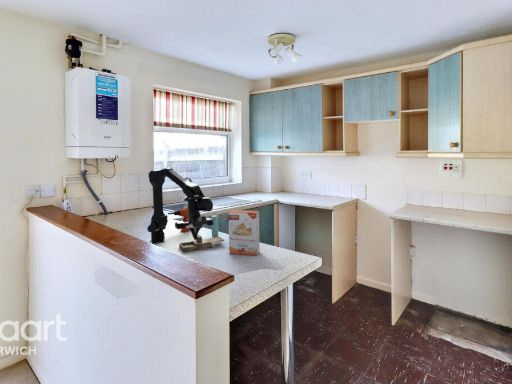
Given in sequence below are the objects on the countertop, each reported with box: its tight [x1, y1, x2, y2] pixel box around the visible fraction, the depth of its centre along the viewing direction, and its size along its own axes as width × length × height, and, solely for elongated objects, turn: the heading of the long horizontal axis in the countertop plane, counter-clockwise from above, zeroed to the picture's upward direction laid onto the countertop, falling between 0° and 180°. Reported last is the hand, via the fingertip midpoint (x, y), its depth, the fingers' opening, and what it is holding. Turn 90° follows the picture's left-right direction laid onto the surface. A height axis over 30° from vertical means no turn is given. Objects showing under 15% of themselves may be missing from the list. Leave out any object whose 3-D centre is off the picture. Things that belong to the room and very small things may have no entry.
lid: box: [192, 234, 225, 245], centre depth 170 cm, size 15×7×4 cm, turn 116°
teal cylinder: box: [210, 215, 219, 238], centre depth 182 cm, size 4×4×13 cm
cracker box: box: [227, 209, 260, 256], centre depth 156 cm, size 14×6×21 cm, turn 76°
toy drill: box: [167, 207, 191, 233], centre depth 196 cm, size 5×19×15 cm, turn 144°
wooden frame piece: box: [178, 240, 214, 253], centre depth 167 cm, size 15×9×2 cm, turn 116°
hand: (195, 239), depth 166 cm, fingers closed
